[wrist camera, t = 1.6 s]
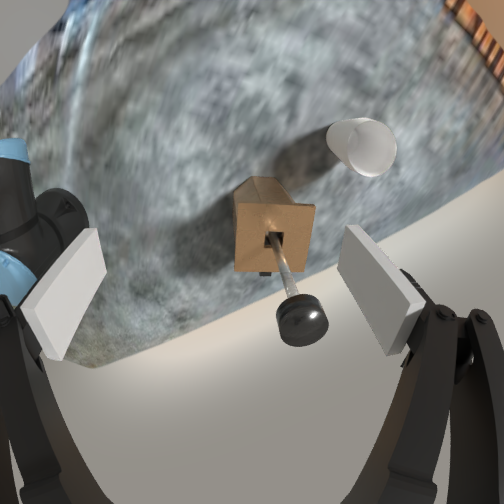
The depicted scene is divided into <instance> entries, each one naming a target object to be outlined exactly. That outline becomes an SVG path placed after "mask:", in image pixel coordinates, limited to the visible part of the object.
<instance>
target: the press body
mask: <svg viewBox="0 0 504 504" xmlns="http://www.w3.org/2000/svg"><path fill="white" fill-rule="evenodd" d="M315 209H316V206H315V205H314V204H301V203H295V202H294V200H293V199H292V198H291V196H290V195H289V193H288V192H287V191H286V190H285V189H284V188H283V186H282V185H281V184H280V183H279V182H278V181H277V179H276V178H273V177H257V176H252V177H250V178H249V179H248V180H246V181H245V182H244V183H243V184H242V185H241V186H239V187H238V188H237V189H236V190H235V191H234V192H233V210H232V215H233V227H234V238H235V261H234V271H237V272H259V274H260V276H271V272H279V268H278V265H277V262H276V259H275V256H274V253H273V250H272V247H271V245H264V241H265V232H266V231H272V232H282V240H281V248H282V250H283V253H284V255H285V258H286V261H287V263H288V266H289V269H290V271H291V272H304V269H305V264H306V259H307V254H308V248H309V243H310V238H311V232H312V227H313V221H314V215H315Z"/></svg>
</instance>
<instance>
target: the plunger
mask: <svg viewBox="0 0 504 504" xmlns="http://www.w3.org/2000/svg"><path fill="white" fill-rule="evenodd" d="M281 240H282V232H272V231H266V232H265V241H264V245H271V247H272V250H273V253H274V256H275V259H276V262H277V265H278V268H279V272H280V275H281V278H282V281H283V284H284V287H285V291H286V294H287V297H288V299H286V300H285V301H284V302H282V303H281V305H280V306H279V307H278V309H277V312H276V319H277V323H278V327H279V332H280V336H281V339H282V340H283V341H284V342H285V343H286V344H288V345H290V346H295V347H302V346H307V345H310V344H313V343H315V342H317V341H318V340H319V339H321V338H322V337H323V336H324V335H325V333H326V332H327V330H328V326H329V323H328V320H327V317H326V315H325V313H324V310H323V308H322V306H321V303H320V302H319V300H318V299H317V298H316V297H314V296H312V295H308V294H299V293H298V290H297V287H296V285H295V282H294V279H293V277H292V274H291V271H290V269H289V266H288V263H287V261H286V258H285V255H284V253H283V250H282V248H281Z"/></svg>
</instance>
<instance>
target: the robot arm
mask: <svg viewBox="0 0 504 504" xmlns="http://www.w3.org/2000/svg"><path fill="white" fill-rule="evenodd" d="M29 165H30V161H29V158H28V152H27V145H26V143H25V141H24V140H23V139H20V138H9V139H2V140H0V504H19V501H18V497H17V492H16V487H15V482H14V477H13V470H12V464H11V456H10V447H9V440H10V443H11V446H12V450H13V453H14V456H15V459H16V462H17V465H18V468H19V470H20V472H21V476H22V478H23V481H24V487H22V488H21V489H20V497H21V501H22V503H23V504H114V503H113V502H111V501H110V500H109V499H108V498H107V497H106V495H105V494H104V493H103V491H102V490H101V488H100V487H99V485H98V484H97V482H96V480H95V479H94V477H93V476H92V474H91V472H90V470H89V469H88V467H87V466H86V463H85V462H84V460H83V458H82V456H81V454H80V453H79V450H78V448H77V447H76V445H75V443H74V441H73V439H72V436H71V434H70V432H69V430H68V428H67V426H66V423H65V421H64V419H63V417H62V414H61V412H60V409H59V407H58V404H57V402H56V399H55V397H54V394H53V391H52V389H51V386H50V383H49V380H48V377H47V374H46V371H45V368H44V365H43V361H42V359H41V358H40V356H39V354H40V352H41V350H42V349H43V351H44V353H45V354H46V356H47V358H48V359H52V360H58V361H62V359H63V357H64V355H65V353H66V350H67V348H68V346H69V344H70V342H71V340H72V337H73V335H74V333H75V331H76V329H77V327H78V325H79V323H80V321H81V319H82V317H83V315H84V313H85V311H86V309H87V307H88V305H89V304H90V302H91V300H92V298H93V296H94V294H95V292H96V291H97V289H98V287H99V285H100V283H101V282H102V280H103V278H104V276H105V275H106V273H107V271H106V267H105V263H104V259H103V255H102V250H101V246H100V242H99V237H98V232H97V228H89V221H88V217H87V214H86V211H85V209H84V207H83V205H82V204H81V202H80V201H79V200H78V199H77V198H76V197H75V196H74V195H73V194H71V193H70V192H68V191H66V190H64V189H60V188H53V189H49V190H47V191H45V192H43V193H42V194H40V195H39V196H38V197H37V198H36V199H35V197H34V192H33V186H32V180H31V173H30V166H29ZM337 269H338V271H339V273H340V275H341V276H342V278H343V280H344V281H345V283H346V285H347V287H348V288H349V290H350V292H351V293H352V295H353V297H354V298H355V300H356V302H357V304H358V305H359V307H360V309H361V311H362V313H363V314H364V316H365V318H366V320H367V321H368V323H369V325H370V327H371V329H372V331H373V332H374V334H375V336H376V338H377V340H378V341H379V343H380V345H381V347H382V349H383V351H384V353H385V355H386V356H389V355H394V354H399V353H401V352H402V350H403V348H404V346H405V344H406V343H407V344H408V346H409V348H410V351H409V352H408V354H407V356H406V358H405V359H404V361H403V363H402V365H401V367H403V366H404V367H403V370H402V374H401V377H400V380H399V383H398V386H397V389H396V392H395V395H394V398H393V401H392V403H391V406H390V409H389V411H388V414H387V416H386V419H385V421H384V424H383V426H382V429H381V431H380V433H379V436H378V438H377V441H376V443H375V445H374V447H373V449H372V451H371V454H370V456H369V458H368V460H367V462H366V464H365V466H364V468H363V470H362V472H361V473H360V475H359V477H358V479H357V481H356V483H355V485H354V486H353V488H352V490H351V491H350V493H349V494H348V495H347V496H346V497H345V499H344V500H343V501H342V502H341V504H433V503H434V501H435V498H436V494H437V485H436V484H435V483H433V482H432V478H433V474H434V471H435V467H436V464H437V461H438V457H439V454H440V449H441V446H442V442H443V438H444V434H445V429H446V425H447V420H448V415H449V409H450V430H451V431H450V432H451V450H450V475H449V487H448V496H447V504H504V350H503V347H502V345H501V342H500V339H499V336H498V333H497V331H496V328H495V325H494V323H493V320H492V319H491V317H490V316H489V315H488V314H487V313H486V312H484V311H483V310H479V309H473V310H471V312H470V314H469V316H468V318H461V317H457V316H456V314H455V312H454V311H453V310H451V309H450V308H448V307H446V306H444V305H440V304H439V305H435V303H434V302H433V301H432V300H431V299H430V298H429V296H428V295H427V294H426V293H425V292H424V290H423V289H422V288H420V286H419V285H418V283H416V281H415V280H414V279H413V277H412V276H411V275H410V274H408V273H407V272H405V271H404V270H402V269H398V268H397V266H396V265H395V264H394V263H393V262H392V261H391V260H390V259H389V257H388V256H387V255H386V254H385V253H384V252H383V251H382V250H381V249H380V248H379V246H378V245H377V244H376V243H375V242H374V241H373V240H372V239H371V238H370V237H369V236H368V235H367V234H366V232H365V231H364V230H363V229H362V228H361V227H360V226H359V225H346V227H345V232H344V237H343V243H342V248H341V253H340V258H339V262H338V267H337ZM12 305H13V306H17V307H16V308H15V310H14V309H13V307H12ZM473 357H474V360H473V363H472V358H473Z"/></svg>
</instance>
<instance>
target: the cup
mask: <svg viewBox="0 0 504 504" xmlns="http://www.w3.org/2000/svg"><path fill="white" fill-rule="evenodd" d="M326 141H327V145H328V147H329V148H330V150H331V151H332V152H333V153H334V154H335V155H336V156H337V157H338V158H339V159H340V160H341V161H342V162H343V163H344V164H345V165H346V166H347V167H348V168H349V169H351V170H353V171H355V172H357V173H360V174H362V175H364V176H368V177H375V176H379V175H382V174H383V173H385V172H386V171H387V170H388V169H389V168H390V167H391V166H392V164H393V162H394V160H395V157H396V152H397V145H396V140H395V137H394V135H393V133H392V131H391V130H390V129H389V128H388V127H387V126H386V125H385V124H383V123H381V122H378V121H375V120H372V119H368V118H356V119H350V120H343V121H338V122H335V123H334V124H332V125H331V126H330V127H329V129H328V131H327V134H326Z"/></svg>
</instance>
